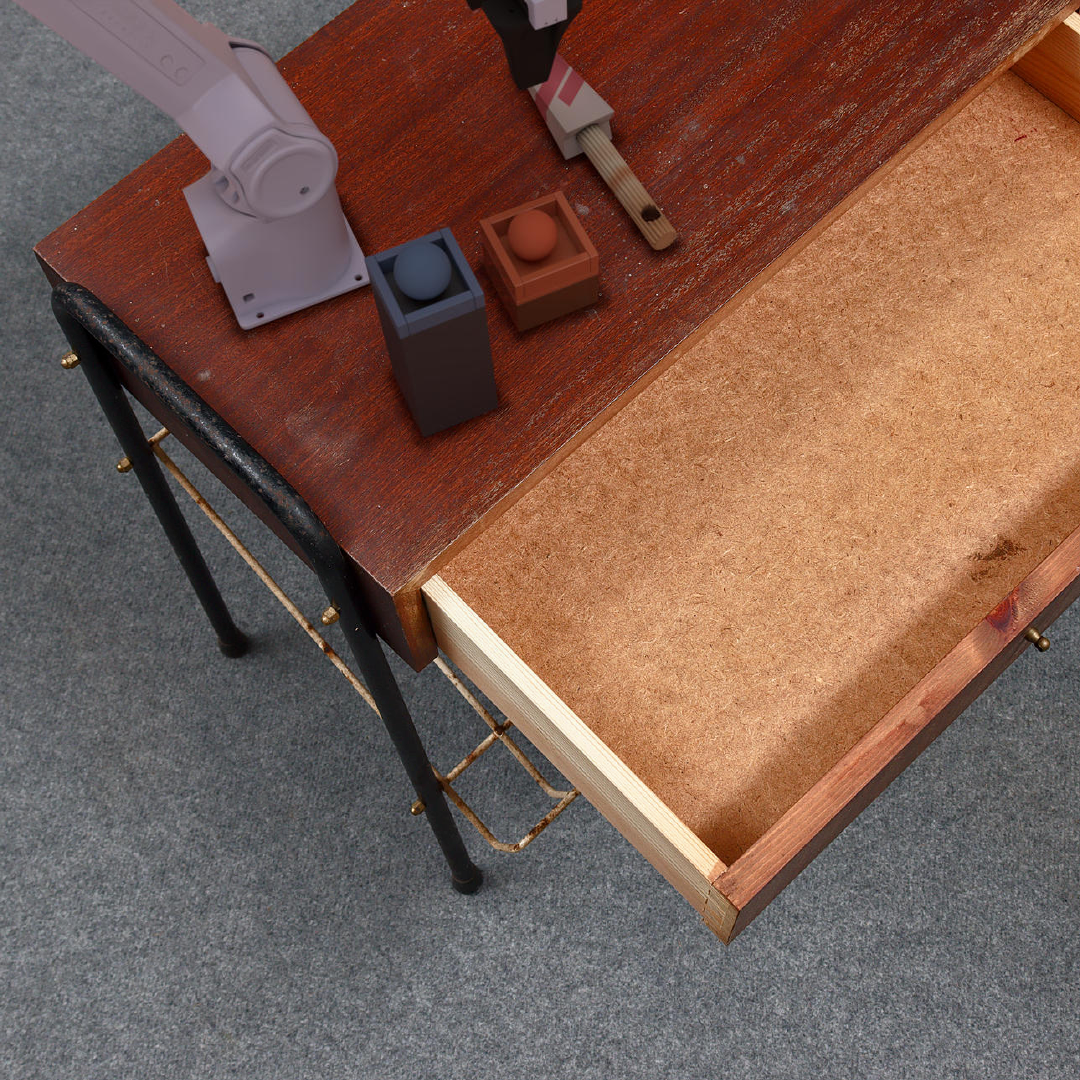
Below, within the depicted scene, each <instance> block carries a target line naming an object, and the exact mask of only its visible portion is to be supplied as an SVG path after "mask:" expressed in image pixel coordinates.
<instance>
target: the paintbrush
mask: <svg viewBox="0 0 1080 1080" xmlns="http://www.w3.org/2000/svg"><path fill="white" fill-rule="evenodd" d="M527 90H528V92H529V93H530V95H531V98H532V99H533V101H534V103H535V105H536V107H537V109H538V111H539V113H540V114H541V116H542V118H543V121H544V122H545V124H546V126H547V127H548V129H549V131H550V133H551V135H552V137H553V139H554V140H555V143H556V145H557V146H558V148H559V150H560V152H561V153H562V156H563V157H564V159H565V161H567V160H569V159H571V158H574V157H576V156H579V155H580V154H582V153H584V154H585V155H586V157H587V158H588V159H589V160H590V162H591V163H592V165H593V166H594V167H595V169H596V170H597V172H598V173H599V174H600V176H601V177H602V179H603V180H604V182H605V183H606V184H607V186H608V187H609V188H610V190H611V191H612V192H613V194H614V195H615V197H616V199H618V201H619V202H620V204H621V205H622V206H623V208H624V209H625V211H626V212H627V213H628V214H629V216H630V217H631V220H633V222H634V224H636V226H637V227H638V229H639V230H640V232H641V233H642V234H643V236H644V238H645V239H646V240H647V242H648V243H649V245H650V246H651V247H652V249H653V250H656V251H659V250H660V251H662V250H663V249H666V248H667V247H670V246H671V244H673V243H674V241H675V240H676V239H677V236H678V234H677V231H676V229H675V228H674V226H672V224H671V223H670V221H669V220H668V218H667V217H666V216H665V214H664V213H663V212H662V211H661V209H660V207H658V206H657V204H656V203H655V201H654V200H653V199H652V197H651V196H650V194H649V193H648V191H647V190H646V188H645V187H644V186H643V184H642V183H641V182H640V180H639V179H638V178H637V176H636V175H635V174H634V172H633V171H632V169H631V167H630V166H629V165H628V164H627V162H626V161H625V159H624V158H623V157H622V155H621V154H620V153H619V152H618V150H617V149H616V147H615V146H614V144H613V143H612V142H611V140H613V136H612V135H613V134H612V129H611V125H610V120H611V118H612V116H613V115H614V113H615V110H614V109H613V108H612V106H610V105H609V104H608V103H607V102H606V100H604V99H603V98H602V97H601V96H600V95H599V94H598V93H597V92H596V91H595V89H593V88H592V87H591V86H590V85H589V84H588V83H587V81H586V80H584V79H583V78H582V77H581V76H580V75H579V73H577V71H576V70H575V69H573V67H572V66H571V65H570V64H569V63H568V62H567V61H566V60H565V59H564V58H563V57H562V56H561V55H560V54H559V53H558V51H557V52H556V56H555V59H554V63H553V66H552V70H551V73H550V76H549V79H548V81H547V82H544V83H541V84H538V85H536V86H533V87H530V88H527ZM650 220H652V221H650Z"/></svg>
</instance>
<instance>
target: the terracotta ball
mask: <svg viewBox="0 0 1080 1080" xmlns="http://www.w3.org/2000/svg"><path fill="white" fill-rule="evenodd" d="M557 238H558V233H557V228H556V225H555V223H554V221H553V220H552V218H551V217H550V216H549V215H547V214H546V213H544V212H542V211H539V210H526V211H523V212H521V213H519V214H518V215H516V216H515V217H514V219H513V220H512V221H511V223H510V225H509V228H508V242H509V245H510V247H511V249H512V251H513V252H514V253H515V254H516V255H517V256H518V257H520V258H522V259H524V260H527V261H538V260H541V259H544V258H545V257H547V256H548V255H549V254H550V253H551V252H552V251H553V250H554V248H555V246H556V243H557Z"/></svg>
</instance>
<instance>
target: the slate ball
mask: <svg viewBox="0 0 1080 1080" xmlns="http://www.w3.org/2000/svg"><path fill="white" fill-rule="evenodd" d="M394 277H395V281H396V283H397V285H398V287H399V288H400V289H401V291H402V292H403V293H404V294H406V295H407V296H409V297H411V298H413V299H416V300H430V299H433V298H435V297H437V296H439V295H440V294H442V293H443V292H444V290H445V289H446V288H447V286H448V284H449V282H450V279H451V265H450V261H449V259H448V257H447V255H446V254H445V252H444V251H443V250H442V249H441V248H439V247H438V246H436V245H435V244H432V243H429V242H415V243H412V244H409V245H408V246H406V247H405V248H404V249H402V250H401V252H400V253H399V254H398V256H397V258H396V260H395V264H394Z"/></svg>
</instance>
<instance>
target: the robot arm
mask: <svg viewBox="0 0 1080 1080" xmlns="http://www.w3.org/2000/svg"><path fill="white" fill-rule="evenodd" d="M11 1H12V2H14V3H15V4H16V5H18V6H19V7H20V8H21V9H23V10H24V11H26V12H27V13H28V14H30V15H31V16H32V17H33V18H36V19H37V20H38V21H39V22H40V23H42V24H44V25H45V26H46V27H47V28H48V29H50V30H51V31H53V32H54V33H55V34H57V35H58V36H60V37H61V38H62V39H63V40H65V41H66V42H67V43H69V44H71V45H72V46H73V47H74V48H76V49H77V50H78V51H80V52H81V53H83V54H84V55H85V56H87V57H88V58H90V60H92V61H94V62H95V63H96V64H98V65H99V66H100V67H102V68H103V69H104V70H106V71H107V72H109V73H110V74H111V75H113V76H114V77H116V78H117V79H118V80H119V81H120V82H122V83H124V84H125V85H126V86H127V87H129V88H131V89H132V90H133V91H134V92H136V93H138V94H139V95H140V96H141V97H143V98H144V99H145V100H147V101H148V102H149V103H151V104H152V105H153V106H154V107H156V108H158V109H159V110H160V111H162V112H163V113H165V114H166V115H167V116H168V117H169V118H171V119H173V121H175V123H177V125H178V126H179V127H180V128H181V129H182V130H183V131H184V132H185V134H186V135H187V137H188V138H190V140H191V141H192V142H193V143H194V144H195V145H196V146H197V148H198V150H200V151H201V152H202V153H203V155H204V156H205V157H206V158H207V159H208V160H209V161H210V170H209V171H207V172H206V173H205V174H204V175H203V176H202V177H201V178H199V179H197V180H196V181H194V182H193V183H191V184H189V185H187V186H185V187H183V188H182V189H181V191H182V192H183V195H184V197H185V200H186V203H187V205H188V208H189V210H190V213H191V215H192V217H193V219H194V221H195V224H196V226H197V228H198V231H199V234H200V236H201V238H202V240H203V243H204V245H205V247H206V250H207V252H208V254H209V255H207V256H205V260H206V263H207V265H208V268H209V270H210V272H211V275H212V277H213V279H214V282H215V283H216V284H218V283H221V285H222V287H223V289H224V292H225V294H226V297H227V299H228V301H229V304H230V305H231V308H232V310H233V312H234V315H235V317H236V320H237V322H238V324H239V327H240V328H241V329H242V330H246V331H247V330H251V329H254V328H256V327H258V326H259V327H260V326H261V325H264V324H267V323H269V322H272V321H275V320H277V319H280V318H283V317H285V316H288V315H291V314H292V313H293V314H294V313H295V312H299V311H301V310H303V309H306V308H309V307H311V306H314V305H316V304H319V303H322V302H324V301H327V300H330V299H332V298H335V297H337V296H340V295H342V294H346V293H348V292H350V291H353V290H356V289H358V288H361V287H364V286H366V285H369V284H370V280H369V276H368V272H367V268H366V265H365V261H364V258H366V257H365V254H364V252H363V250H362V249H361V247H360V245H359V242H358V240H357V238H356V236H355V234H354V232H353V229H352V228H351V226H350V224H349V222H348V220H347V218H346V215H345V214H344V212H343V211H344V210H343V208H342V205H341V201H340V197H339V194H338V191H337V190H338V189H337V186H336V183H335V179H336V177H337V174H338V169H339V157H338V156H339V155H338V152H337V150H336V148H335V145H334V144H333V142H331V140H330V139H329V137H328V136H326V135H324V134H323V133H322V132H321V131H320V129H319V127H318V126H317V125H316V123H315V122H314V120H313V119H312V117H311V116H310V115H309V113H308V112H307V110H306V109H305V107H304V105H303V104H302V103H301V102H300V100H299V98H298V97H297V96H296V94H295V93H294V92H293V90H292V89H291V87H290V86H289V84H288V83H287V81H286V80H285V79H284V77H283V76H282V73H280V71H279V70H278V66H277V64H276V63H275V60H274V58H273V57H272V55H271V54H270V53H269V51H268V50H267V49H266V48H265V47H264V46H262V44H259V43H258V42H256V41H253V40H251V39H247V38H243V37H242V38H241V37H235V36H232V35H229V34H228V33H225V32H223V31H222V30H220V29H219V28H218V27H217V26H216V25H215V24H213V23H212V22H211V21H209V20H208V21H207V20H206V21H205V22H204V21H203V23H200V22H199V21H198V20H197V19H196V18H194V17H193V16H192V15H191V14H190V13H189V12H188V11H186V10H185V8H183V7H181V6H180V4H178V3H177V2H176V1H174V0H11ZM583 1H584V0H465V2H466V4H467V6H468V7H469V9H470V11H471V12H472V11H475V10H478V9H481V10H482V12H483V14H484V15H485V16H486V18H487V20H488V21H489V23H490V25H491V26H492V28H493V29H494V30H495V33H497V35H498V36H499V37H500V40H501V43H502V46H503V50H504V53H505V57H506V61H507V67H508V70H509V73H510V76H511V78H512V80H513V82H514V85H516V87H517V89H518V90H519V91H520V92H521V91H524V90H528V88H530V87H533V86H536V85H538V84H541V83H544V82H547V81H548V79H549V76H550V73H551V70H552V66H553V63H554V59H555V56H556V52H557V53H558V49H559V45H560V43H561V41H562V40H563V37H564V35H565V33H566V31H567V30H568V28H569V26H570V25H571V24H572V22H573V21H574V20H575V19H576V17H577V16H578V15H579V14H580V13H581V11H582V10H583ZM358 279H360V280H358ZM260 316H261V317H260ZM262 316H263V317H262Z"/></svg>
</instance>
